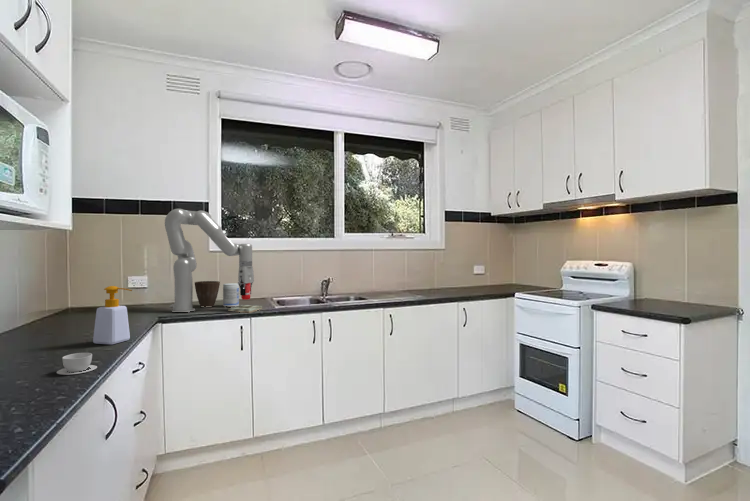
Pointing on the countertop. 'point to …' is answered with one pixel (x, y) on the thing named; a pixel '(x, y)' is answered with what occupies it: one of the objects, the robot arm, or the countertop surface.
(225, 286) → the supplement tub
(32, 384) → the countertop surface
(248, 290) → the beverage can
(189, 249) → the robot arm
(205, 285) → the plant pot
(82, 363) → the teacup
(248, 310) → the base plate
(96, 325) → the soap bottle
